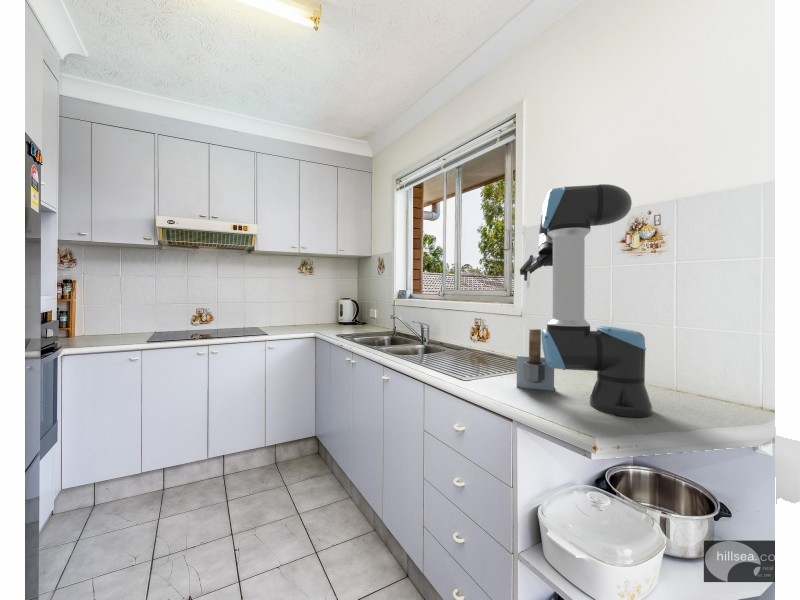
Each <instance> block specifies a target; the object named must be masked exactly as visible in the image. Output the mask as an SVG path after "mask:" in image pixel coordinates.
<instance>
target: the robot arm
mask: <svg viewBox="0 0 800 600" xmlns="http://www.w3.org/2000/svg"><path fill="white" fill-rule="evenodd" d="M632 202H633V201H632V197H631V195H630V194H629V192H628V191H626V190H625V189H624V188H622V187H620V186H617V185H614V184H607V183H603V184H602V183H601V184H592V185H590V184H588V185H574V186H563V187H555V188H551V189H550V190H549V191H548V192H547V194H546V197H545V200H544V201H543V204H542V207H541V208H542V210H541V213H540V214H541V217H540V226H539V231H538V237H539V241H538V249H537V250H538V252H537V256H534V255H533V254H530V255H529V258H528V259H527V261H526V262H525V263H524V264H523V265H522V266H521V267H520V269H519V275H520V276H523V281H525V282H526V288H527V289H530V281H531V274H532V273H533V272H535V271H537V269H540V268H542V267H552V318H551V319H550V320H549V321H548V322H547V323H546V328H544V329H541V344H542V345H541V346H542V350H543V357H545V360H546V363H547V365H548V366H549V367H550V368H554V370H555V369H557V370H563V371H566V370H568V371H569V370H570V371H572V370H573V371H588V372H589V371H590V372H596V382H595V383H594V386H593V389H592V392H591V394H590V397H589V406H590V407H591V408H593V409H594V410H597V411H599V412H602V413H605V414H610V415H614V416H619V417H627V418H646V417H649V416H651V415H652V414H653V404H652V402H651V399H650V397H649V393H648V391H647V388H646V385H645V384H646V383H645V381H646V380H645V379H646V378H645V377H646V350H647V347H646V339H645V338H646V337H645V335H644V334H643V333H642V332H639V331H636V330H633V329H627V328H622V327H620V328H619V327H613V326H606V325H598V326H597V328H596V330H591V324H590V323H589V322H588V321H587V320H586V318H585V254H586V253H585V247H586V245H585V242H586V241H585V239H586V236H588V234H590V233H591V227H595V226H604V225H610V224H613V223H614V224H615V223H616V222H618V221H621V220H622V219H624V218H625V217H626V216H627V215H628V214H629V212H630V211H631V208H632V205H633V203H632ZM535 261H536V262H535Z"/></svg>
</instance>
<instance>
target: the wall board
mask: <svg viewBox="0 0 800 600" xmlns="http://www.w3.org/2000/svg"><path fill="white" fill-rule="evenodd" d="M524 361H529V355H516V388H520V389H530V390H532V389H533V390H539V391H540V390H542V391H552V392H554V391H555V369H554V368H550V367H549V366H548V365H547V363H546V360H545V357H544V356H541V359H540V362H544V363H545V382H542V383H533V382H528V381H525V380H524Z"/></svg>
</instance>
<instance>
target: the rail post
mask: <svg viewBox="0 0 800 600" xmlns="http://www.w3.org/2000/svg"><path fill="white" fill-rule="evenodd" d="M528 331H529V332H528V333H529V334H528V335H529V336H528V356H529V364H537V365H538V364H540V359H541V357H542V355H541V351H542V350H541V347H542V345H541V344H542V329H539V328H528Z"/></svg>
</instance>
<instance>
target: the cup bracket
mask: <svg viewBox="0 0 800 600" xmlns="http://www.w3.org/2000/svg"><path fill="white" fill-rule="evenodd" d="M524 380H525V381H528V382H533V383H542V382H545V363H544V362H540V364H538V365H537V364H529V361H524Z"/></svg>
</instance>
